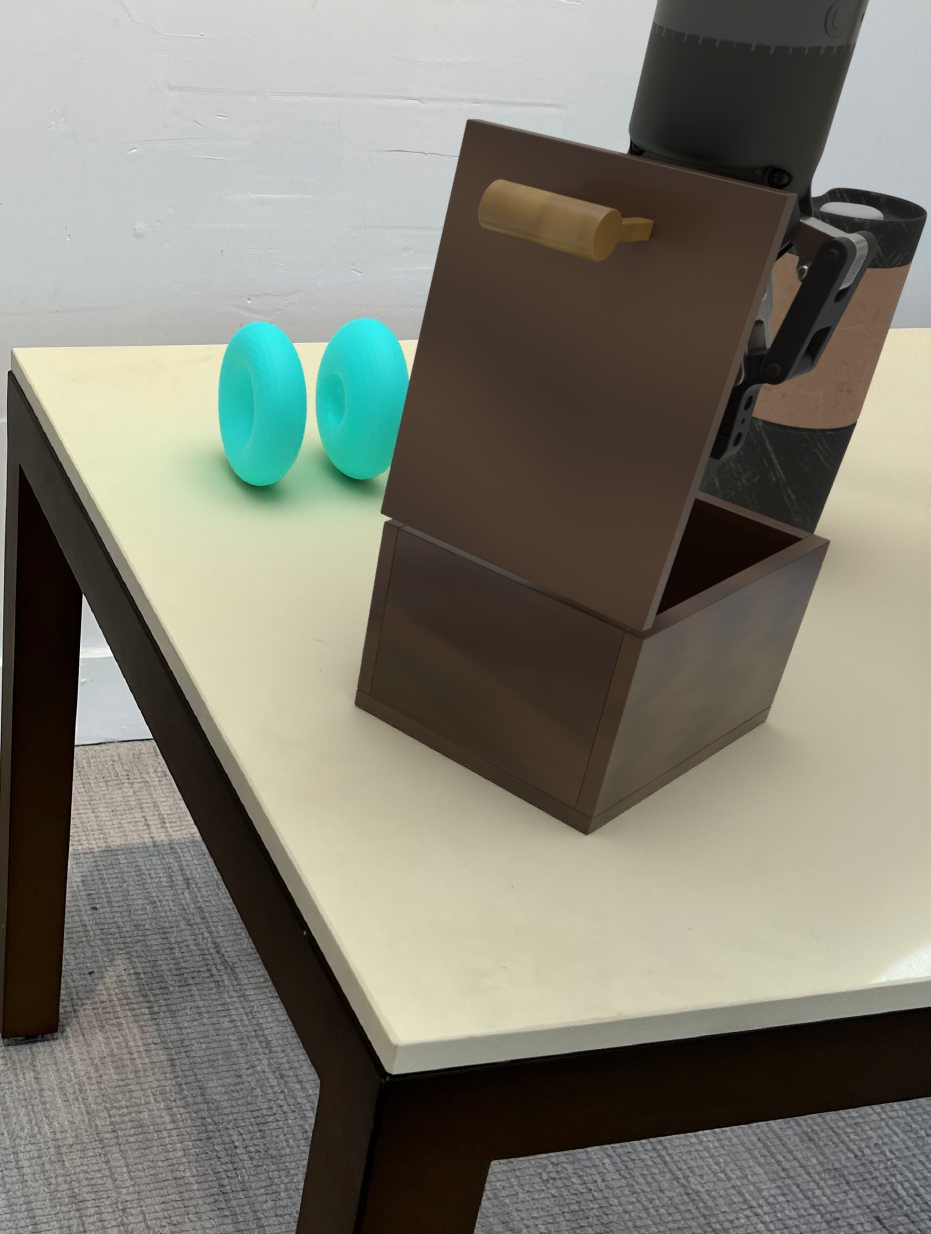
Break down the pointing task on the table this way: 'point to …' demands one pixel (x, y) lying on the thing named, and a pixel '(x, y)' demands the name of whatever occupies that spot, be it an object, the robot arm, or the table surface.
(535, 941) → the table surface
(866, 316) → the travel mug
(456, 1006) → the table surface
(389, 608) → the chest
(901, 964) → the table surface
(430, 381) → the lid
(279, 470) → the donuts
